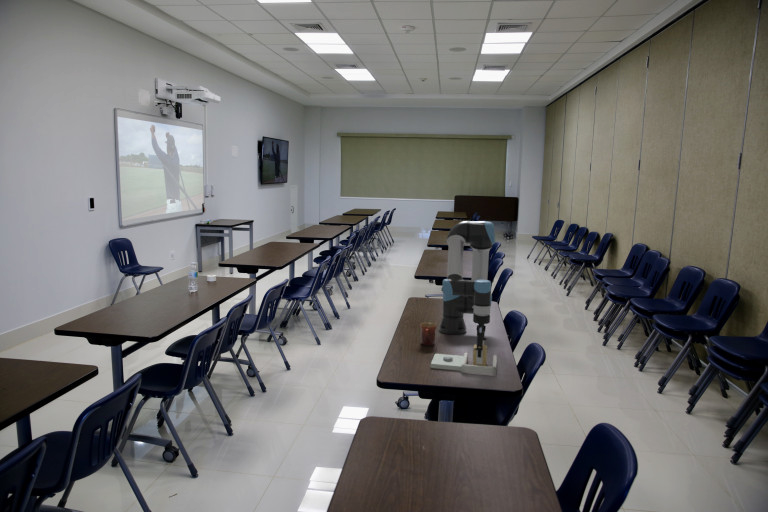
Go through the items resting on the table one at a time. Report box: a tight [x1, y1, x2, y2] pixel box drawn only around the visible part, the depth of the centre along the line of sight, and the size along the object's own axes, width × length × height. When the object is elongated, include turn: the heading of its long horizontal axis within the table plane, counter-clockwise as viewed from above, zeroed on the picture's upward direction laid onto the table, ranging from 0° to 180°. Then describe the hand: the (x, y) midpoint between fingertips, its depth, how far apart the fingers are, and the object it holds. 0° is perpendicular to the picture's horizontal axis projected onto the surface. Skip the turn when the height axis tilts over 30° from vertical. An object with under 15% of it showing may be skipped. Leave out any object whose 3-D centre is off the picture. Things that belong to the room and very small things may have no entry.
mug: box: [419, 322, 437, 346], centre depth 260 cm, size 12×9×10 cm
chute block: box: [472, 344, 488, 366], centre depth 232 cm, size 5×6×9 cm
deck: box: [430, 352, 498, 377], centre depth 231 cm, size 17×29×4 cm, turn 76°
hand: (480, 358), depth 232 cm, fingers open, 13 cm apart
